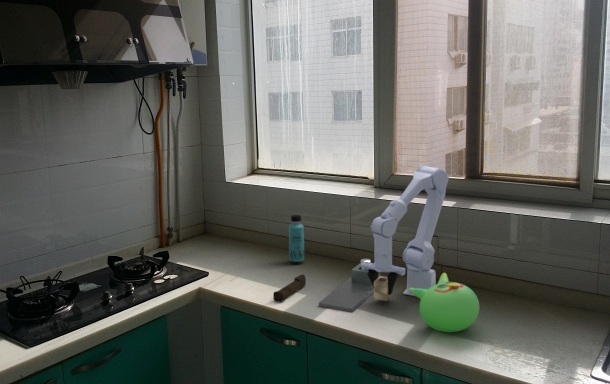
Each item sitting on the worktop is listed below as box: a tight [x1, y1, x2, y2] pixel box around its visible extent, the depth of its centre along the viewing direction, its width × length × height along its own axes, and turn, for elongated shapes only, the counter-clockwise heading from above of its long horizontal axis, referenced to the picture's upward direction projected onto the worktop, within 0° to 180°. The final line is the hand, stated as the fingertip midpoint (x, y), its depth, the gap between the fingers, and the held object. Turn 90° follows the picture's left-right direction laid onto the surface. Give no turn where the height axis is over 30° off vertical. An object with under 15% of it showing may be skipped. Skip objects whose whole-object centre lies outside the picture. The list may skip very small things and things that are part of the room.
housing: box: [373, 275, 393, 302], centre depth 186 cm, size 4×6×6 cm
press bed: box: [318, 263, 381, 313], centre depth 195 cm, size 12×31×6 cm, turn 153°
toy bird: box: [408, 272, 480, 333], centre depth 165 cm, size 18×17×15 cm
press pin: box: [360, 258, 372, 271], centre depth 205 cm, size 4×4×4 cm
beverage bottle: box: [288, 214, 305, 263], centre depth 228 cm, size 6×7×20 cm
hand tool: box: [272, 274, 307, 303], centre depth 197 cm, size 19×4×5 cm, turn 148°
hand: (383, 292), depth 187 cm, fingers closed on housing, 4 cm apart
